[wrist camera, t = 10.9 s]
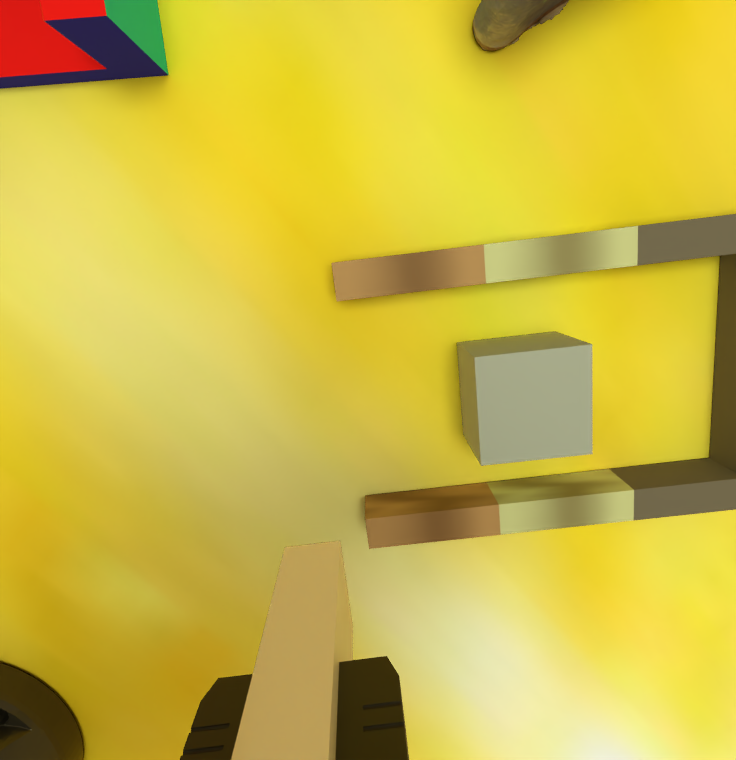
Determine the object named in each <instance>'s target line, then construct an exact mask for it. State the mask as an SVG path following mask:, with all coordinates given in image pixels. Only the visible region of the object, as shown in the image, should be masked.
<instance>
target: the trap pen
mask: <svg viewBox="0 0 736 760" xmlns="http://www.w3.org/2000/svg"><path fill="white" fill-rule="evenodd" d="M712 256H720V273H719V291H718V310H717V328H716V346H715V365H714V383H713V401H712V420H711V438H710V457H709V458H703V459H694V460H685V461H676V462H667V463H658V464H649V465H639V466H630V467H621V468H612V469H610V470H611V471H612V472H613V473H614V474H616V475H617V476H618V477H619V478H620V479H622V480H623V481H624V482H625V483H626V484H628V485H629V486H630V487H631V488H632V489H634V520H641V519H650V518H659V517H669V516H678V515H687V514H697V513H706V512H715V511H725V510H734V509H736V214H732V215H724V216H716V217H707V218H699V219H691V220H683V221H674V222H666V223H658V224H650V225H641V226H638V260H637V265H645V264H653V263H661V262H670V261H678V260H687V259H695V258H703V257H712Z"/></svg>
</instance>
